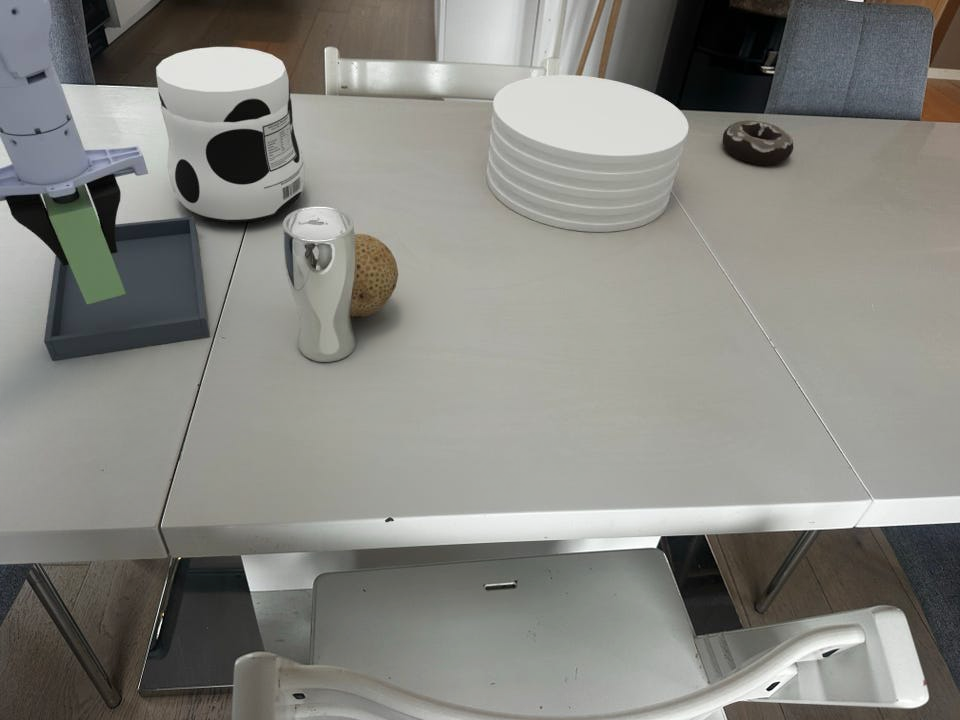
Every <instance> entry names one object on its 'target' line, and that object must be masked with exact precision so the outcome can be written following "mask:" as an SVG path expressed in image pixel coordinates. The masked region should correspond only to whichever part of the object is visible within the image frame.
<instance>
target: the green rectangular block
mask: <svg viewBox="0 0 960 720" xmlns="http://www.w3.org/2000/svg"><path fill="white" fill-rule="evenodd" d="M75 189H76V191H75V192H74V193H73V194H70V195H65V196H61V197H55V198H53V197H50V196H49V195H48V194H41V197H42V200H43V202H44V205H45V207H46V209H47V212H48V216H49V218H50V221H51V223H52V225H53V228H54V230H55V232H56V235H57V237H58V239H59V241H60V244H61V246H62V248H63V251H64V253H65V255H66V258H67V260H68V262H69V264H70V267H71V269H72V271H73V274H74V276H75V278H76V281H77V283H78V285H79V288H80V290H81V292H82V294H83V297H84V299H85V301H86V304H91V303H95V302H98V301H102V300H106V299H109V298H113V297H117V296H120V295H124V294H126V292H125V290H124V287H123V285H122V282H121V279H120V277H119V274H118V271H117V269H116V266H115V263H114V261H113V258H112V255H111V253H110V250H109V248H108V245H107V242H106V240H105V237H104V234H103V232H102V229H101V226H100V222H99V218H98V215H97V212H96V210H95V207H94V206H93V205H94V204H93V202H92V199H91V196H90V194H89V191H88V189H87V186H86V184H84V185H81V186H78V187H76V188H75Z"/></svg>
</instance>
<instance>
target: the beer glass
mask: <svg viewBox="0 0 960 720" xmlns="http://www.w3.org/2000/svg"><path fill="white" fill-rule="evenodd" d="M282 229H283V258H284V267H285V272H286V273H285V274H286V277H287V281H288V285H289V289H290V292H291V295H292V298H293V301H294V304H295V306H296V310H297V313H298V317H299V334H298V341H297V342H298V349H299V352H300V353H301V354H302V355H303V356H304V357H305V358H306V359H309V360H312V361H315V362H318V363H332V362H337V361H341V360H342V359H345V358H347V357H348V356H349V355H350V354H352V353H353V352H354V350H355V348H356V344H357V339H356V335H355V331H354V328H353V324H352V316H351V308H352V302H353V296H354V290H355V284H356V275H357V253H356V242H355V235H356V234H355V228H354V220H353V218H352V217H351V215H350V214H349V213H347V212H346V211H344V210H342V209H339V208H336V207H332V206H326V205H313V206H305V207H301V208H298V209H296V210H294V211H292V212H290V213H288V214H287V215H286V216H285V217H284V219H283V221H282Z"/></svg>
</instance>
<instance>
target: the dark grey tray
mask: <svg viewBox="0 0 960 720" xmlns="http://www.w3.org/2000/svg"><path fill="white" fill-rule="evenodd" d="M115 239H116V246H117V250H118V252H117V253H113V254H111V255H112V258H113V261H114V263H115V266H116V269H117V271H118V274H119V277H120V279H121V282H122V285H123V287H124V290H125V292H126V294H124V295H120V296H117V297H113V298H109V299H106V300H102V301H98V302H95V303H91V304H86V301H85V299H84V297H83V294H82V292H81V290H80V288H79V285H78V283H77V281H76V278H75V276H74V274H73V271H72V269H71V267H70V264H69V265H65V266H63V265H62V263H61V262H60V260H59V259H58V257H57V256H56V255H55V257H54V264H53V265H54V266H53V272H52V279H51V280H52V281H51V287H50V295H49V301H48V310H47V316H46V324H45V331H44V339H43V342H44V345H45V347H46V350H47V352H48V354H49V356H50V359H51V361H61V360H66V359H72V358H73V359H74V358H79V357H85V356H92V355H98V354H106V353H113V352H119V351H125V350H132V349H138V348H144V347H145V348H146V347H152V346H158V345H159V346H160V345H165V344H173V343H178V342H184V341H190V340H197V339H204V338H210V337H211V334H210V325H209V318H208V317H209V316H208V310H207V301H206V292H205V284H204V276H203V275H204V274H203V268H202V260H201V252H200V251H201V250H200V242H199V235H198V229H197V224H196V220H195V217H194V216H184V217H175V218H165V219H154V220H146V221H135V222H126V223H117V224H115Z"/></svg>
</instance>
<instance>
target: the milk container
mask: <svg viewBox="0 0 960 720" xmlns="http://www.w3.org/2000/svg"><path fill="white" fill-rule="evenodd" d="M155 73H156V75H155V76H156V83H157V84H156V85H157V91H158V92H157V93H158V97H159V101H160V110H161V113H162V117H163V121H164V125H165V128H166V133H167V139H168V140H167V141H168V150H167V152H168V153H167V173H168V178H169V182H170V185H171V187H172V190H173V191H174V193H175V196H176V197H177V200H178V201H179V203H181V204H182V205H183V206H184V208H185V209H187V210H188V211H189V212H191V213H193V214H195V215H197V216H200V217H201V218H205V219H208V220H211V221H218V222H219V221H220V222H224V223H250V222H256V221H258V220H264V219H268V218H269V219H270V218H271V217H274V216H276V215H278V214H281V213H283V212H285V211H286V210H288V209H289V208H290V207H292V206H293V205H294V204H295V203H296V202H297V201H299V198H300V197H301V195H302V193H303V190H304V184H305V177H306V175H305V174H306V167H305V161H304V156H303V153H302V150H301V147H300V145H299V142H298V139H297V137H296V135H295V129H294V119H293V118H294V117H293V104H292V103H293V102H292V99H291V84H290V81H289V75H288V72H287V68H286V66H285V64H284V62H283V61H282V60H281V59H280V58H278V57H276V56H274V55H273V54H271V53H269V52H264V51H261V50H258V49H253V48H245V47H238V46H210V47H202V48H201V47H200V48H192V49H188V50H184V51H180V52H177V53H173V55H170V56H168V57H166V58H164V59H162V60H161V61H160V62H159V63H158V65H157V66H156V67H155Z"/></svg>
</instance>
